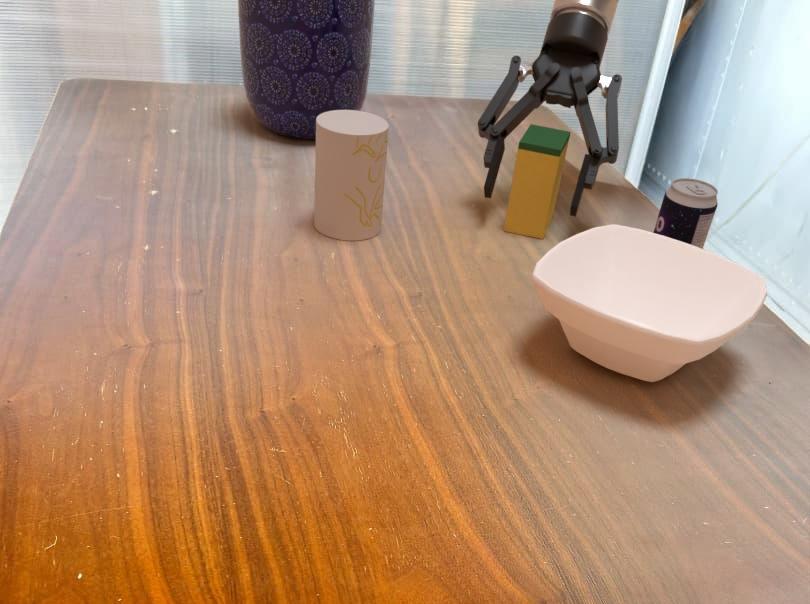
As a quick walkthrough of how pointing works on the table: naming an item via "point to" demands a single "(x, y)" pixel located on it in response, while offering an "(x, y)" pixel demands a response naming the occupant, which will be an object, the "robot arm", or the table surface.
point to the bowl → (644, 299)
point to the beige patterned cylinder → (349, 174)
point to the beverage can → (687, 211)
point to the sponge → (536, 180)
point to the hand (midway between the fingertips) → (529, 202)
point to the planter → (304, 59)
